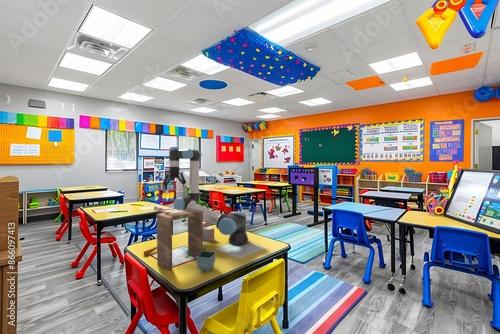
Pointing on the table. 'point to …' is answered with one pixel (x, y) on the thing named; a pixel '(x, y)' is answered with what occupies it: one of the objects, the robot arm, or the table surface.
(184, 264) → the table surface
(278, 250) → the table surface
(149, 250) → the kendama
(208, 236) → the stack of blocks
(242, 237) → the robot arm
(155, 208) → the salad server
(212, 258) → the flower pot
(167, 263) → the shelf
